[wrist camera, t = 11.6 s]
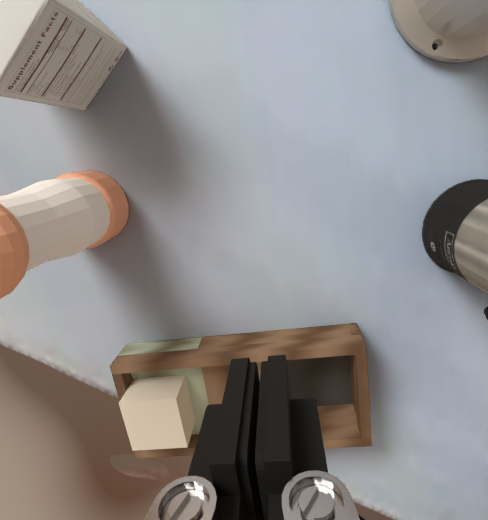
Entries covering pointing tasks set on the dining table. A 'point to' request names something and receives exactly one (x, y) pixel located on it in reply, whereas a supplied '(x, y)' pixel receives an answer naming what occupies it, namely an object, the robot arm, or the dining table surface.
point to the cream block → (158, 413)
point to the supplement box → (54, 52)
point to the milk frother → (460, 232)
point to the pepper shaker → (57, 221)
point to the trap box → (258, 349)
